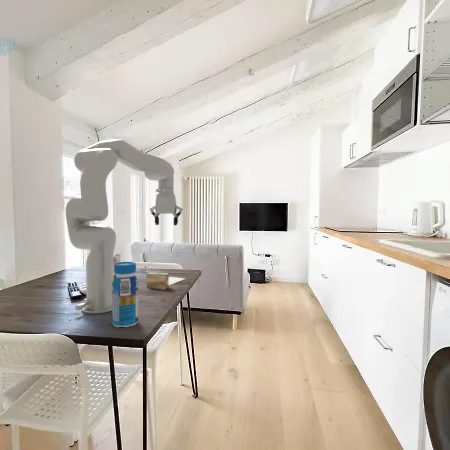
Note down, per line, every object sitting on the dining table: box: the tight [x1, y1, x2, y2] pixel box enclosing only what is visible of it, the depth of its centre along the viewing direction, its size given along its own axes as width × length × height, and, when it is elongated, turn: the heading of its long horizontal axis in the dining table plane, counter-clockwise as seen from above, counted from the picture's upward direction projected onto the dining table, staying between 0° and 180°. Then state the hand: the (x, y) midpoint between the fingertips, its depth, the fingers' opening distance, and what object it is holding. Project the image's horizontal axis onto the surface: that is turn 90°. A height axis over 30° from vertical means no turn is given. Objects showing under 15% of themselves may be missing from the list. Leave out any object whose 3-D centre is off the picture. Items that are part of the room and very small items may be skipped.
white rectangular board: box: [169, 276, 186, 287], centre depth 156 cm, size 16×10×1 cm, turn 158°
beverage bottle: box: [111, 261, 140, 328], centre depth 96 cm, size 8×8×20 cm
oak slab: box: [146, 271, 170, 290], centre depth 143 cm, size 4×10×7 cm, turn 67°
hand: (166, 225), depth 150 cm, fingers open, 9 cm apart
